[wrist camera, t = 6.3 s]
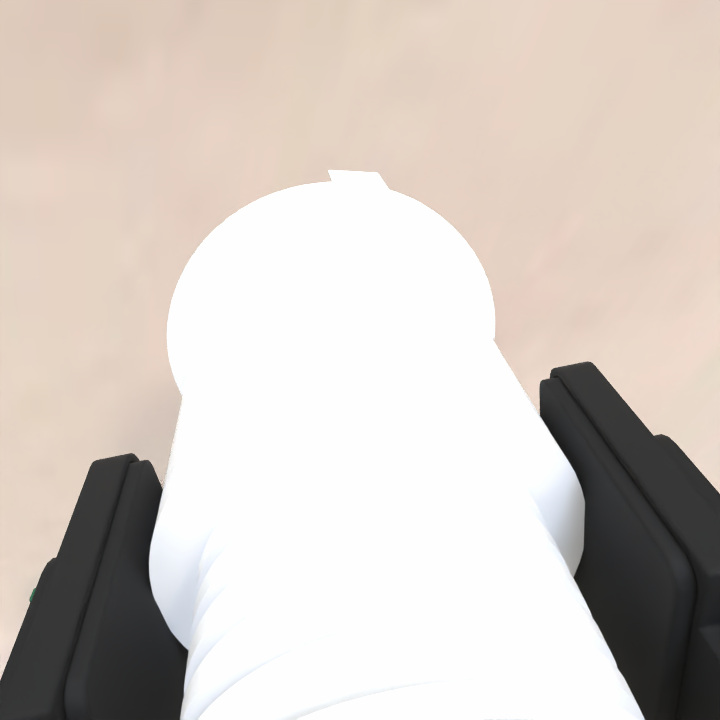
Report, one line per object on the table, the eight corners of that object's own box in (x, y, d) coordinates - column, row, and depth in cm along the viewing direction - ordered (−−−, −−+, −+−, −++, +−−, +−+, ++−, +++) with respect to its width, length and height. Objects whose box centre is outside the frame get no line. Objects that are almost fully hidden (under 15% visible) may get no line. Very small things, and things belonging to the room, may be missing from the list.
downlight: (459, 474, 17) (656, 992, 8) (181, 479, 16) (74, 1073, 7) (522, 162, 13) (1033, 528, 4) (155, 141, 12) (-153, 568, 3)
